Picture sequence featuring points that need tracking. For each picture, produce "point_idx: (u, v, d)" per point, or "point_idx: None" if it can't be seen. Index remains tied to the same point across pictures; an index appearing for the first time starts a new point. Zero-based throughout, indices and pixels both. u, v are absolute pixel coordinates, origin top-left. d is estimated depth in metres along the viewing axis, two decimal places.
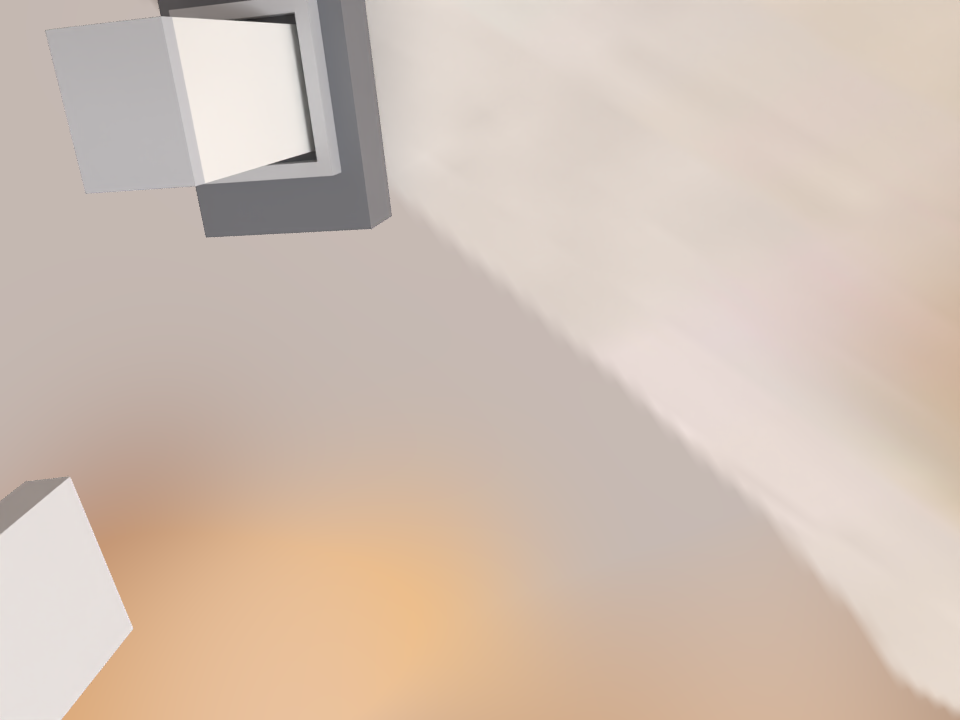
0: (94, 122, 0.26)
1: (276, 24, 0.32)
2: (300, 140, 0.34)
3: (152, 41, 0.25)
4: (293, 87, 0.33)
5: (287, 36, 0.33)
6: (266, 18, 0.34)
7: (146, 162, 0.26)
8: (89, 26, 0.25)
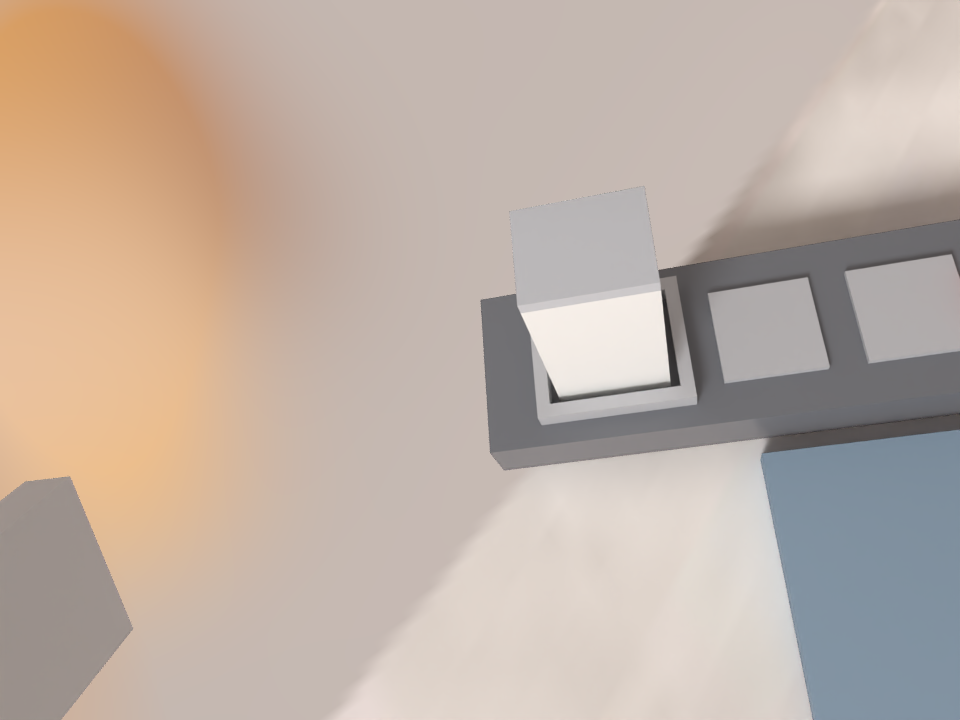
0: (569, 222, 0.30)
1: (668, 370, 0.35)
2: (568, 389, 0.37)
3: (639, 274, 0.29)
4: (615, 384, 0.36)
5: (659, 378, 0.36)
6: (674, 359, 0.38)
7: (536, 264, 0.30)
8: (648, 222, 0.29)
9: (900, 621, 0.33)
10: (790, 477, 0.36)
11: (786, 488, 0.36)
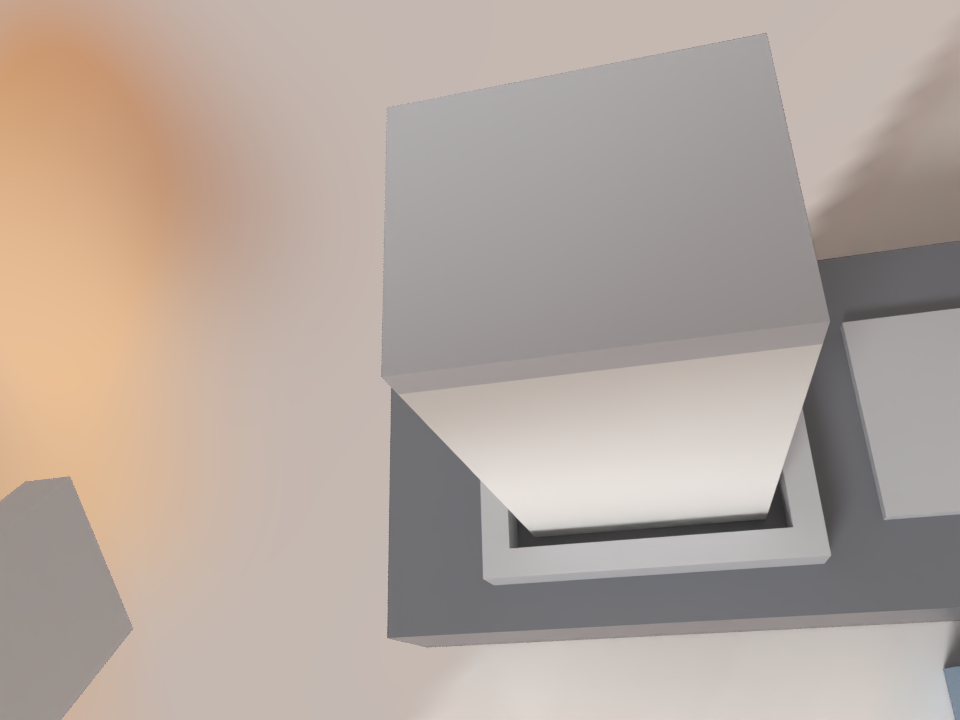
0: (547, 134, 0.10)
1: (770, 498, 0.16)
2: (548, 521, 0.17)
3: (758, 293, 0.09)
4: (649, 516, 0.17)
5: (745, 509, 0.17)
6: None
7: (448, 253, 0.10)
8: (784, 134, 0.10)
9: None
10: None
11: None
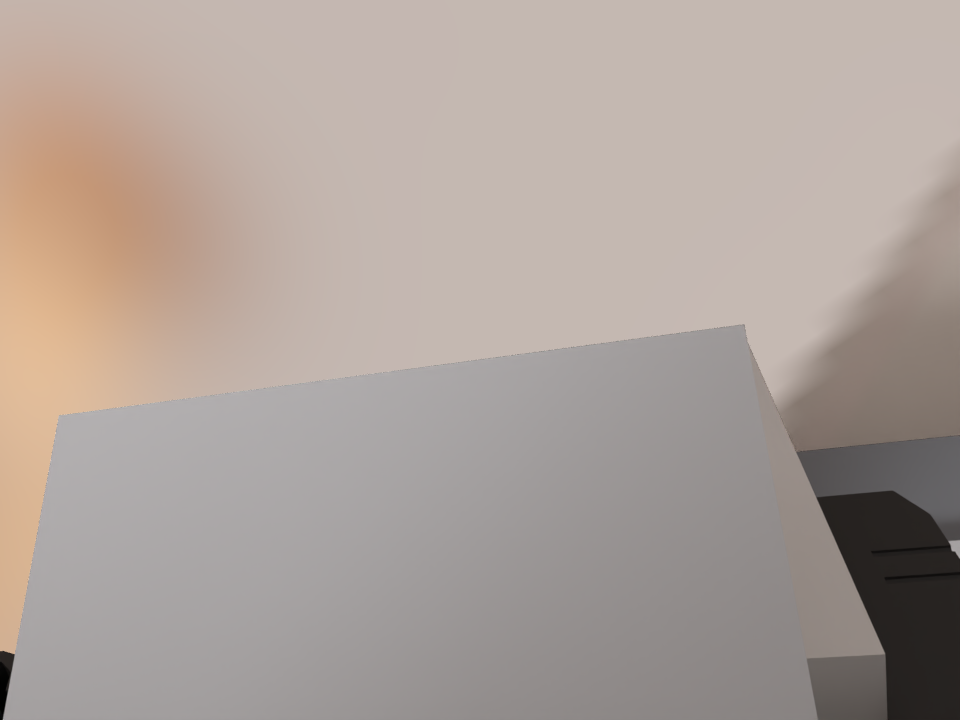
0: (322, 513, 0.05)
1: None
2: None
3: None
4: None
5: None
6: None
7: None
8: (782, 577, 0.05)
9: None
10: None
11: None
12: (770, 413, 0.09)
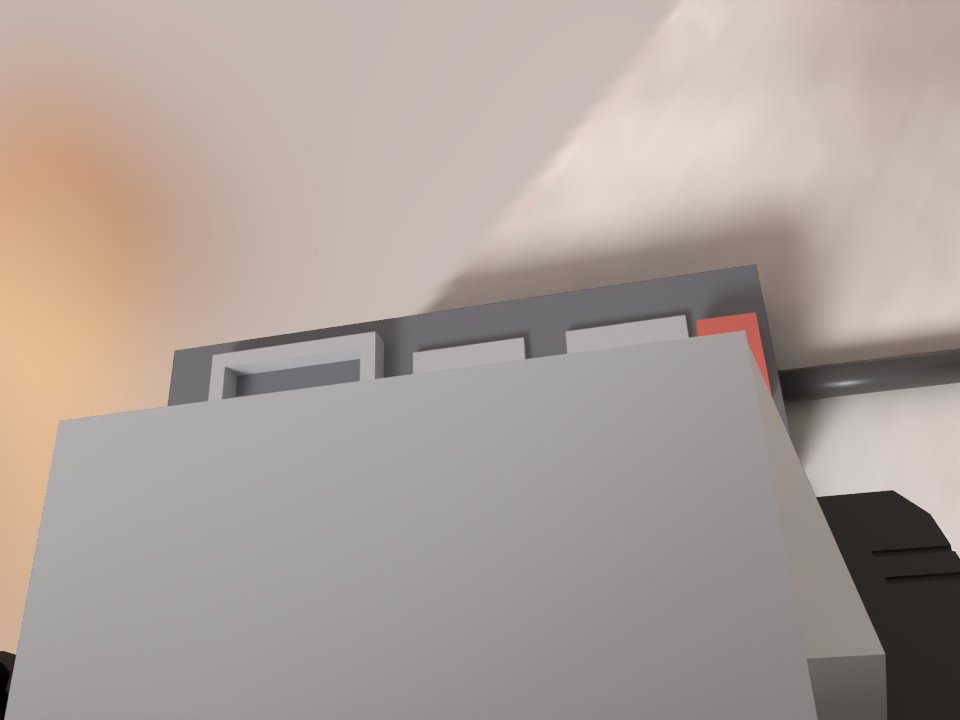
0: (323, 518, 0.05)
1: None
2: None
3: None
4: None
5: None
6: None
7: None
8: (783, 584, 0.05)
9: None
10: None
11: None
12: (770, 413, 0.09)
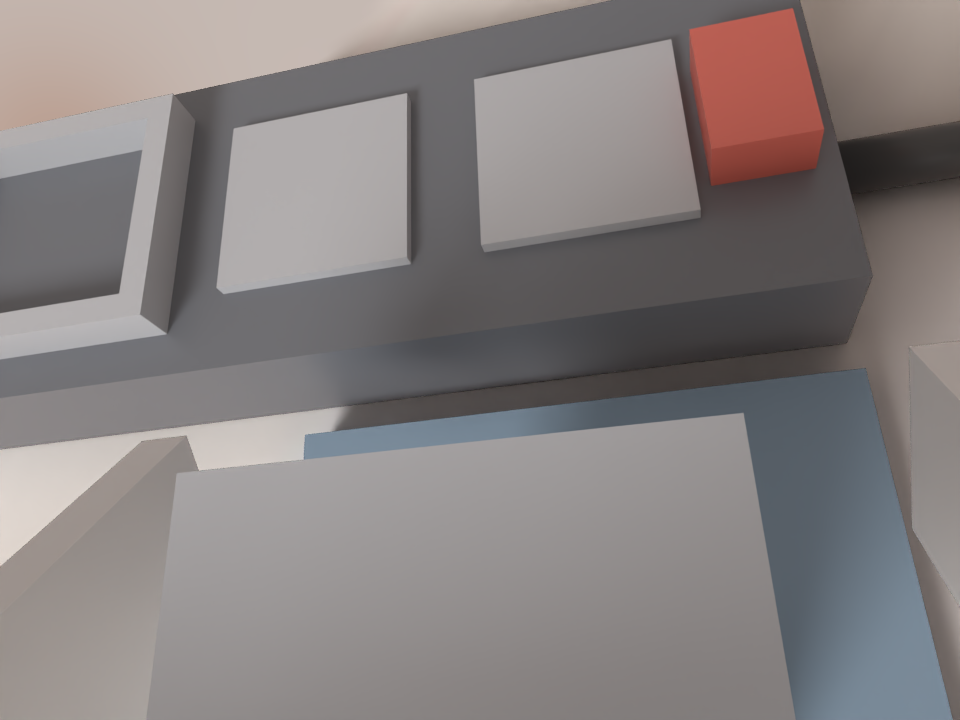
0: (403, 560, 0.07)
1: None
2: None
3: None
4: None
5: None
6: None
7: None
8: (771, 619, 0.06)
9: None
10: None
11: None
12: None
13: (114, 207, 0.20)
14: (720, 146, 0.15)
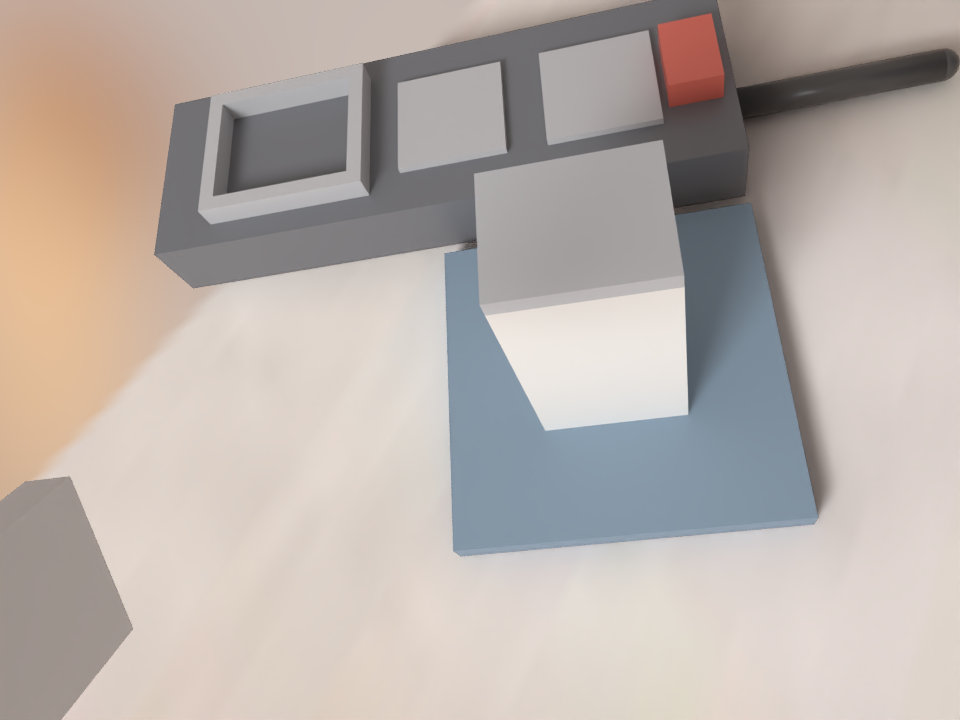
0: (556, 189, 0.21)
1: (686, 394, 0.27)
2: (554, 415, 0.28)
3: (654, 263, 0.20)
4: (616, 410, 0.28)
5: (673, 404, 0.28)
6: None
7: (509, 247, 0.21)
8: (668, 190, 0.21)
9: None
10: (469, 276, 0.33)
11: (463, 287, 0.33)
12: None
13: (326, 129, 0.35)
14: (672, 84, 0.30)
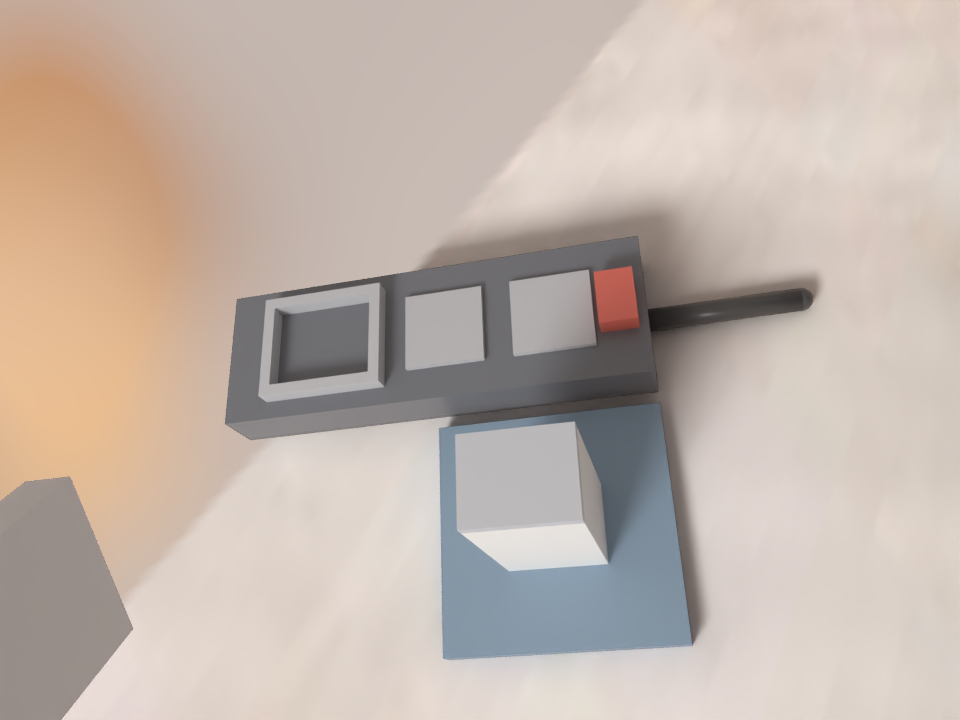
0: (507, 451, 0.33)
1: (603, 557, 0.39)
2: (513, 565, 0.40)
3: (565, 510, 0.32)
4: (556, 563, 0.40)
5: (596, 560, 0.40)
6: None
7: (476, 490, 0.33)
8: (576, 458, 0.33)
9: None
10: None
11: (452, 456, 0.45)
12: None
13: (352, 330, 0.47)
14: (602, 322, 0.42)
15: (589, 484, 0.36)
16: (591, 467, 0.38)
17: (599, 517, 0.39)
